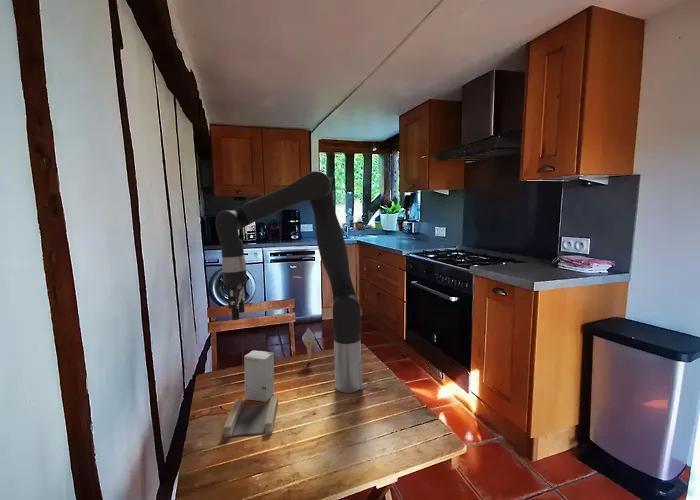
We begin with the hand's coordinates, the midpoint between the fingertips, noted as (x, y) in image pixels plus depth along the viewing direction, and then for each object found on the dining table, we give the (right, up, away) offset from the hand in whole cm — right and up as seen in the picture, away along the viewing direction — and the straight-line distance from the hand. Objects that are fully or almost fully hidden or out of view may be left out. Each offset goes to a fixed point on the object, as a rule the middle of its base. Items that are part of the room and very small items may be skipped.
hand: (238, 315), depth 113 cm
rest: (+9, -28, -15) cm, 33 cm away
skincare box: (+8, -27, -2) cm, 28 cm away
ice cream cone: (+22, -24, +23) cm, 40 cm away
